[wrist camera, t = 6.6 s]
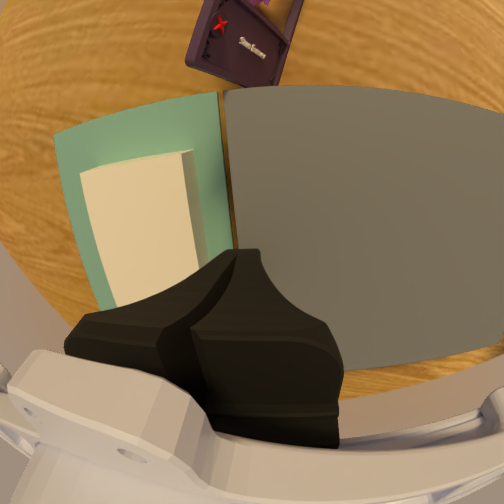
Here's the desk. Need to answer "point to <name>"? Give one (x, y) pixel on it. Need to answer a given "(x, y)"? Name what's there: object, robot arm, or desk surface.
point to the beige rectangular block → (146, 222)
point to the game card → (240, 42)
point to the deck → (374, 214)
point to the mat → (142, 145)
